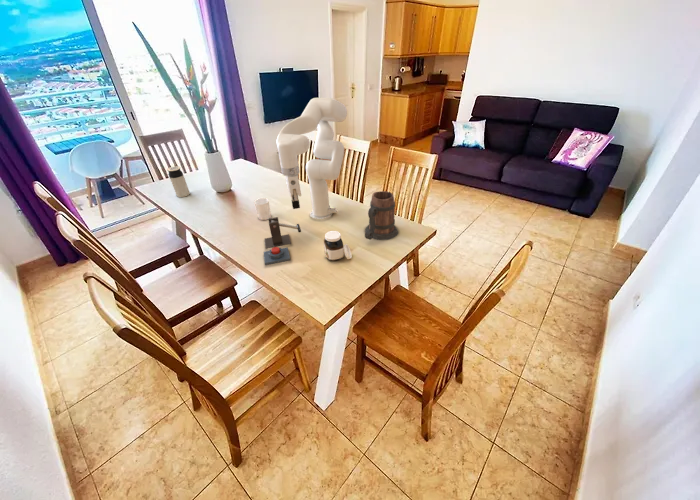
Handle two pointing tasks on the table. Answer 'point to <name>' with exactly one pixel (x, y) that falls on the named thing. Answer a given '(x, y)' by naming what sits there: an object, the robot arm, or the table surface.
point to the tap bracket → (276, 235)
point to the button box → (276, 256)
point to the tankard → (381, 217)
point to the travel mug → (178, 181)
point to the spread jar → (335, 246)
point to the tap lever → (289, 226)
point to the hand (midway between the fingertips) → (296, 207)
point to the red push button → (275, 250)
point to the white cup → (262, 208)
